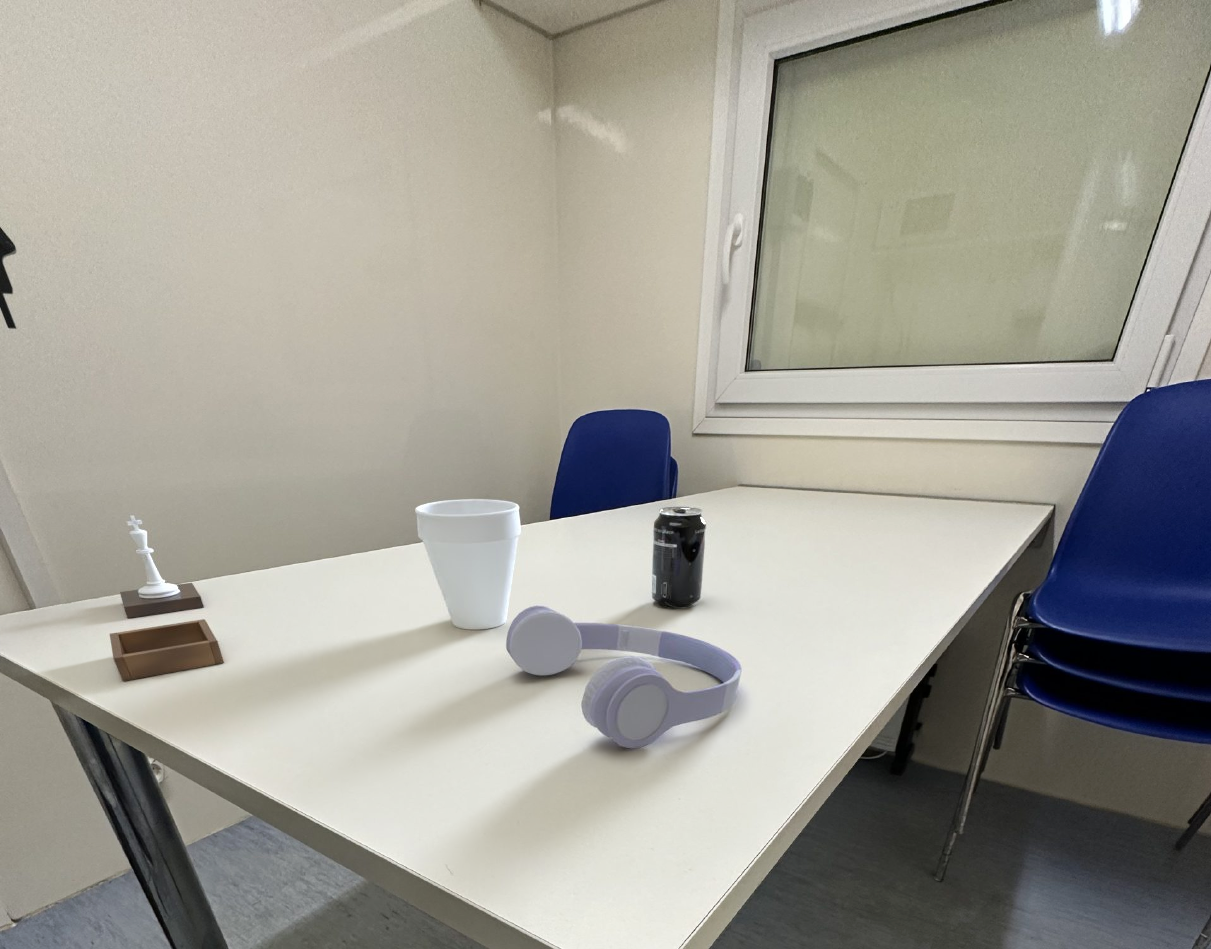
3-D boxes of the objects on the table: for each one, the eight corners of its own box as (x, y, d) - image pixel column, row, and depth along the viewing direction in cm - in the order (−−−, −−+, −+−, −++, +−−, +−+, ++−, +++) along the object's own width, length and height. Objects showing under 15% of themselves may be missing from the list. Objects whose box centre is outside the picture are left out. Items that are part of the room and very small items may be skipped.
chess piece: (133, 594, 92) (104, 516, 87) (171, 587, 95) (145, 511, 90) (147, 600, 89) (117, 520, 84) (185, 593, 93) (159, 515, 87)
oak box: (122, 681, 69) (113, 658, 68) (118, 655, 76) (109, 633, 75) (224, 662, 74) (217, 640, 72) (211, 639, 81) (204, 618, 79)
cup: (511, 639, 80) (502, 516, 73) (415, 633, 82) (396, 513, 75) (537, 609, 90) (531, 499, 83) (451, 605, 92) (437, 497, 85)
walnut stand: (128, 618, 88) (123, 607, 87) (124, 602, 94) (119, 591, 93) (204, 607, 92) (200, 596, 91) (195, 592, 98) (192, 582, 98)
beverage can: (693, 595, 96) (699, 505, 90) (706, 609, 90) (713, 513, 84) (647, 597, 95) (649, 506, 89) (656, 611, 90) (660, 515, 83)
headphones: (596, 758, 54) (785, 723, 63) (601, 675, 51) (800, 649, 59) (499, 671, 71) (659, 652, 79) (497, 603, 67) (665, 591, 76)
